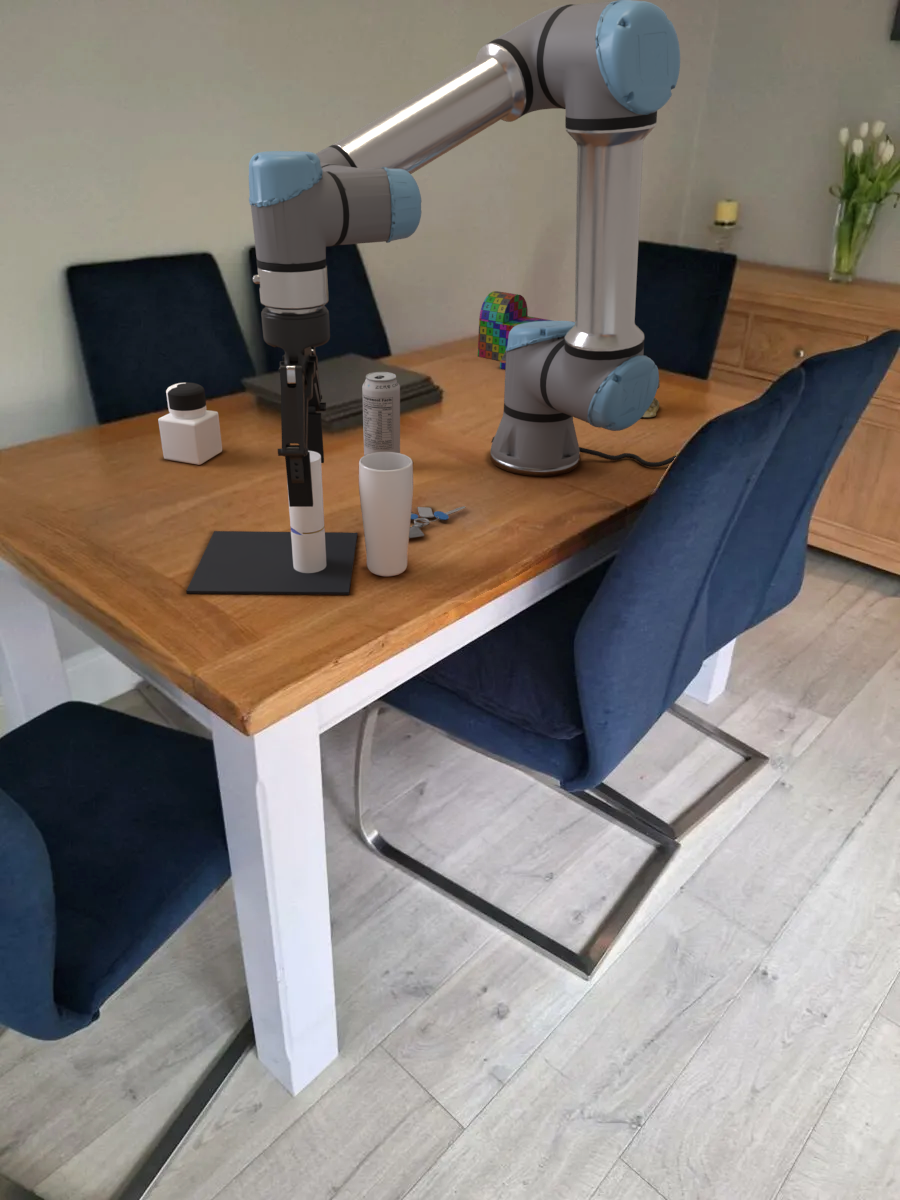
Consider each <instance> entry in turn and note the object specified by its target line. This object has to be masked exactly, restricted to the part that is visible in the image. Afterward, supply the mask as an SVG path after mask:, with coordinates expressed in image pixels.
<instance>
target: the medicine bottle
mask: <svg viewBox="0 0 900 1200" xmlns="http://www.w3.org/2000/svg"><path fill="white" fill-rule="evenodd" d="M165 393H166V401H167V408H168V413H166V414H165V415H163V416H161V417H159V418H158V419H157V420H158V428H159V435H160V436H159V437H160V442H161V448H162V455H163V459H164V460H168V461H171V462H172V461H173V462H180V463H186V464H191V465H196V466H197V465H198V466H200V465H203V464H204V463H206V462H207V461H208V460H211V459H212V458H214V457H215V456H217V455H219V454H221V453H222V452H223V443H222V442H223V441H222V433H221V424H220V417H219V412H218V411H216V410H207V409H208V408H207V400H206V392H205V388H204V387H203V386H202V385H200V384H198V383H195V382H178V383H174V384H172V385H170V386H168V387H167V389H166V390H165Z"/></svg>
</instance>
